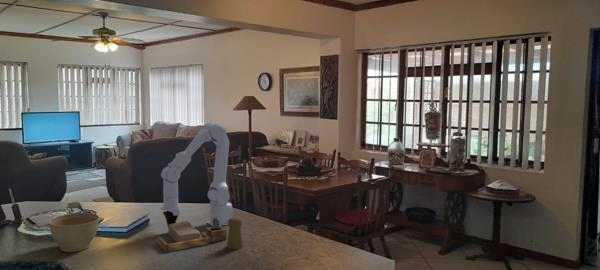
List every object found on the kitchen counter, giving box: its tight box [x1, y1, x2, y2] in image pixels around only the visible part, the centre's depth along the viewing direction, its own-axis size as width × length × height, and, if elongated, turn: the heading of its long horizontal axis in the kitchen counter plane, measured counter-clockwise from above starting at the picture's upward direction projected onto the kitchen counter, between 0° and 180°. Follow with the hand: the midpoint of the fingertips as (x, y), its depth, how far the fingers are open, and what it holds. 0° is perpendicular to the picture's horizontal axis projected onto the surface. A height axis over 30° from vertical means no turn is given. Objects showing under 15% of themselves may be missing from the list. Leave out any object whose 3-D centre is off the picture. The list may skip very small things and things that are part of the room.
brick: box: [167, 220, 201, 243], centre depth 170 cm, size 17×8×5 cm, turn 33°
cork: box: [226, 216, 244, 250], centre depth 160 cm, size 6×6×11 cm
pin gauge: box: [212, 218, 219, 231], centre depth 169 cm, size 2×2×8 cm
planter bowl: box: [48, 212, 100, 253], centre depth 157 cm, size 16×16×11 cm
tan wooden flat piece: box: [157, 231, 212, 253], centre depth 163 cm, size 17×11×2 cm, turn 123°
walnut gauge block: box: [205, 226, 227, 243], centre depth 169 cm, size 6×6×4 cm
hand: (171, 228), depth 177 cm, fingers closed
